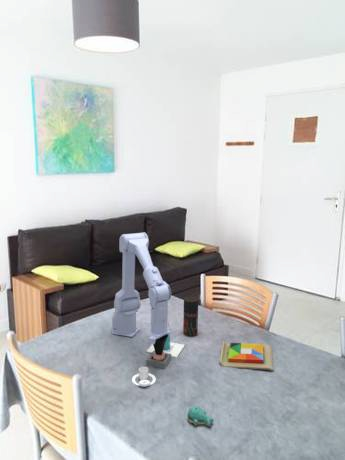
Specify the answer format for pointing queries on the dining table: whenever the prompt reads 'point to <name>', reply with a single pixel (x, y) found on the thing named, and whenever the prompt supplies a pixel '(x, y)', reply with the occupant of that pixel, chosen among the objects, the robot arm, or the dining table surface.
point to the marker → (167, 342)
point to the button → (159, 357)
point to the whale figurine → (198, 416)
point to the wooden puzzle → (246, 356)
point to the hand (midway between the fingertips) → (159, 354)
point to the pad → (173, 350)
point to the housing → (158, 363)
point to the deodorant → (190, 317)
